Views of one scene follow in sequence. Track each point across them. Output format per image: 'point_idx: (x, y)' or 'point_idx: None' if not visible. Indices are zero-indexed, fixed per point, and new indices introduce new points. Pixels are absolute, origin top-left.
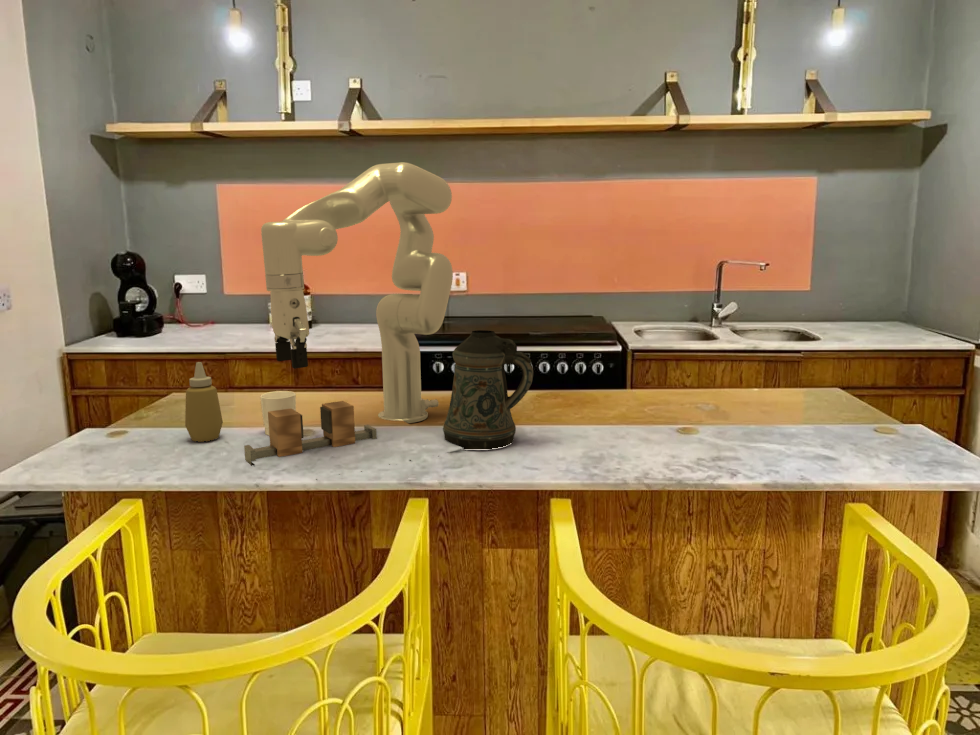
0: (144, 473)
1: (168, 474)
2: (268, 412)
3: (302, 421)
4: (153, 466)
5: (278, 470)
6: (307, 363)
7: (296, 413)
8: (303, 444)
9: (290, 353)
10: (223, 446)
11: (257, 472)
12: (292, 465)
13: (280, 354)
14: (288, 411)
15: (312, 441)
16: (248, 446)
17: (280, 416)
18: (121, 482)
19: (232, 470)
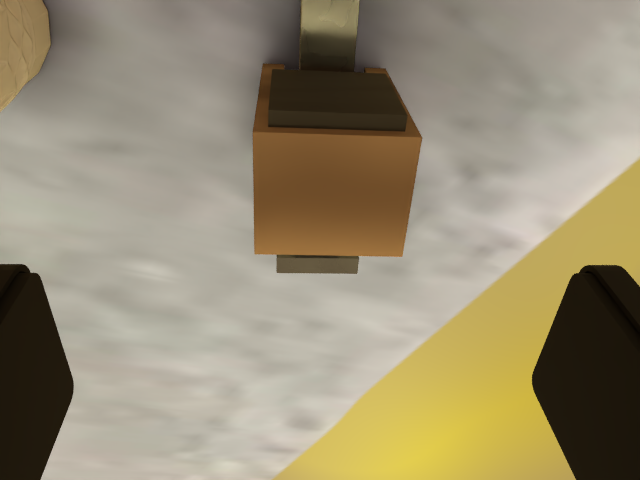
0: (232, 441)
1: (277, 408)
2: (266, 252)
3: (400, 102)
4: (181, 422)
5: (461, 189)
6: (632, 284)
7: (402, 152)
8: (354, 54)
9: (4, 330)
10: (51, 252)
11: (429, 244)
12: (446, 132)
13: (40, 431)
14: (323, 170)
15: (353, 5)
16: (297, 264)
17: (402, 237)
18: (273, 475)
19: (355, 292)
